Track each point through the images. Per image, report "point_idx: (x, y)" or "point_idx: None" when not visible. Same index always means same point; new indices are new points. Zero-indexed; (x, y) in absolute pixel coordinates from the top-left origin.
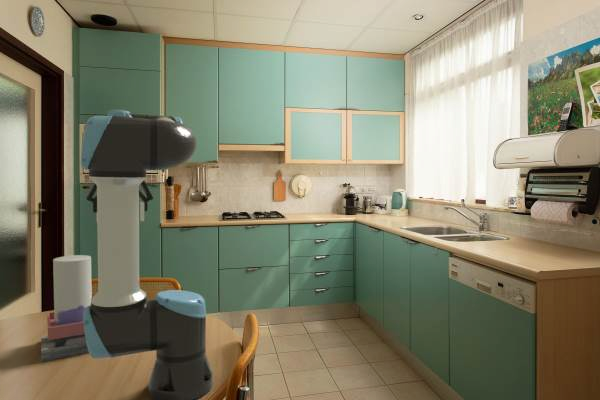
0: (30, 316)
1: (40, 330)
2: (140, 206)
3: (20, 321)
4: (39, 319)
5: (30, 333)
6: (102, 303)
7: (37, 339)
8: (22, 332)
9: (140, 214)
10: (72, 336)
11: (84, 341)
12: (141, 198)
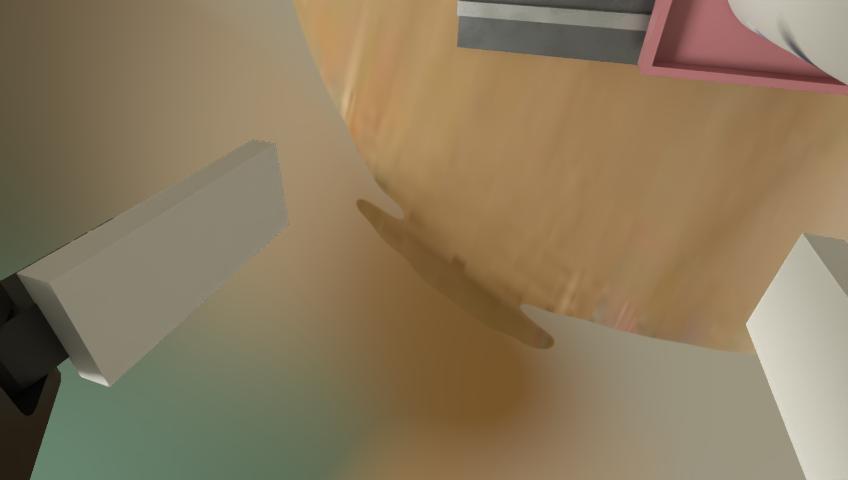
0: (739, 335)
1: (784, 196)
2: (168, 324)
3: None
4: (732, 295)
5: (826, 188)
6: None
7: (844, 111)
8: (840, 214)
9: (246, 258)
10: None
11: None
12: (27, 413)
